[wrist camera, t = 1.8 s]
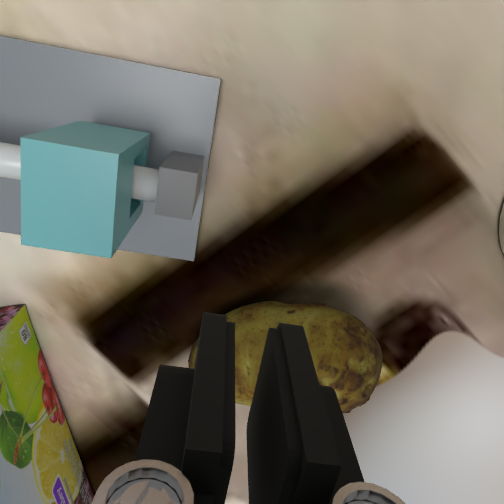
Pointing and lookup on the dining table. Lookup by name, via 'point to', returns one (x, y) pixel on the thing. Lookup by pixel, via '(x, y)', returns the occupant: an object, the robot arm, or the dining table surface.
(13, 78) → the slider rail stand
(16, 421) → the snack box
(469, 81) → the dining table surface
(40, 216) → the teal sliding cube
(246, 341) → the potato
